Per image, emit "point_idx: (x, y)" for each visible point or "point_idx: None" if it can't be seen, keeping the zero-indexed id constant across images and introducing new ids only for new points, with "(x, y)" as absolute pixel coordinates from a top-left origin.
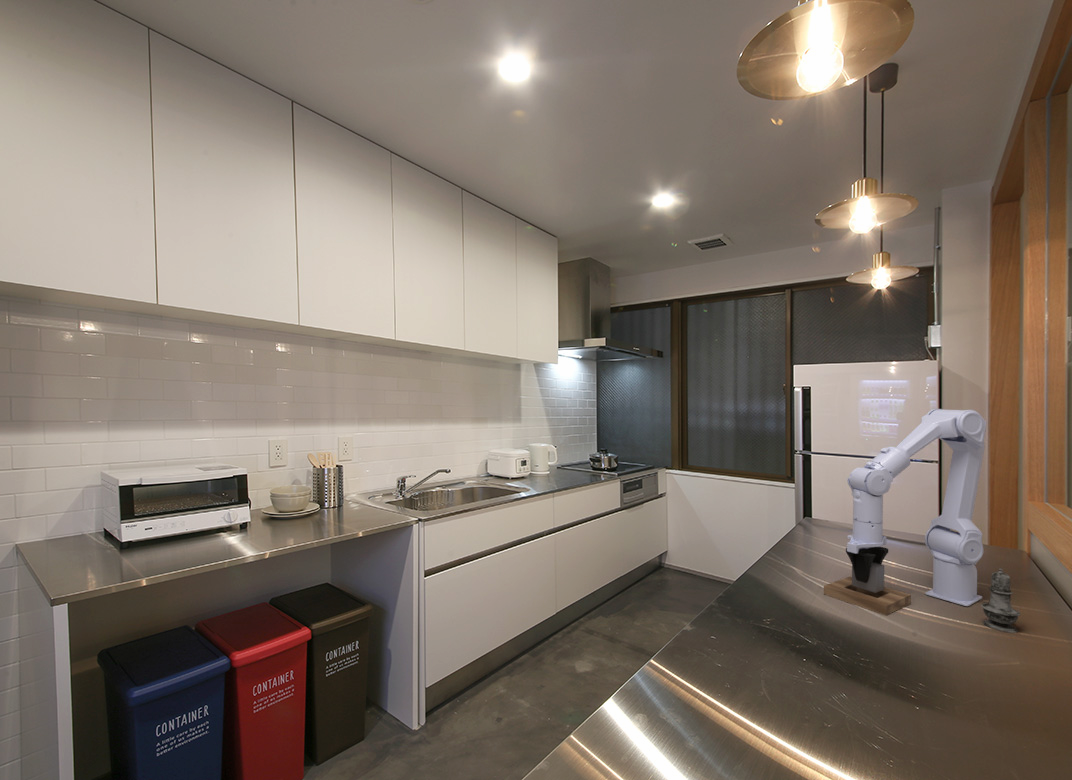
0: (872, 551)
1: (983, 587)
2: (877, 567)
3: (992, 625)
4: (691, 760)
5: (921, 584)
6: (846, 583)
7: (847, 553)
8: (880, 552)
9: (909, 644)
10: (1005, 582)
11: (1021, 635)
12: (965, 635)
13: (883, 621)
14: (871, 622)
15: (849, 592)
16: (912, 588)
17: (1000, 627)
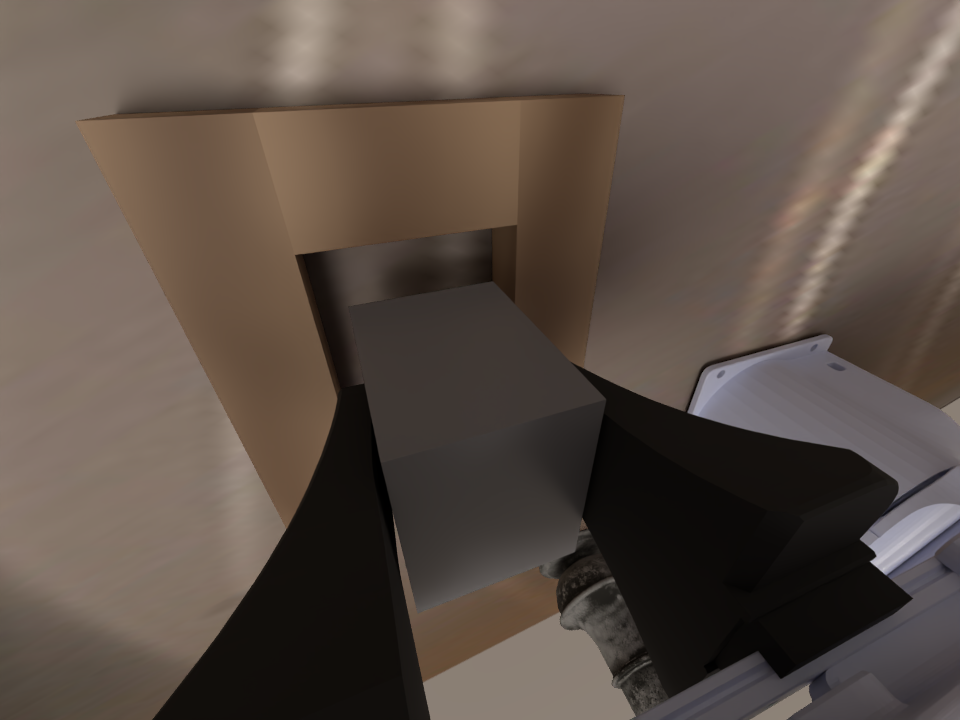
0: (676, 595)
1: (885, 367)
2: (453, 597)
3: (549, 565)
4: None
5: (830, 283)
6: (423, 198)
7: (167, 713)
8: (661, 650)
9: (97, 666)
10: None
11: (552, 584)
12: (413, 596)
13: (196, 528)
14: (99, 536)
15: (236, 346)
16: (757, 300)
17: (550, 573)
